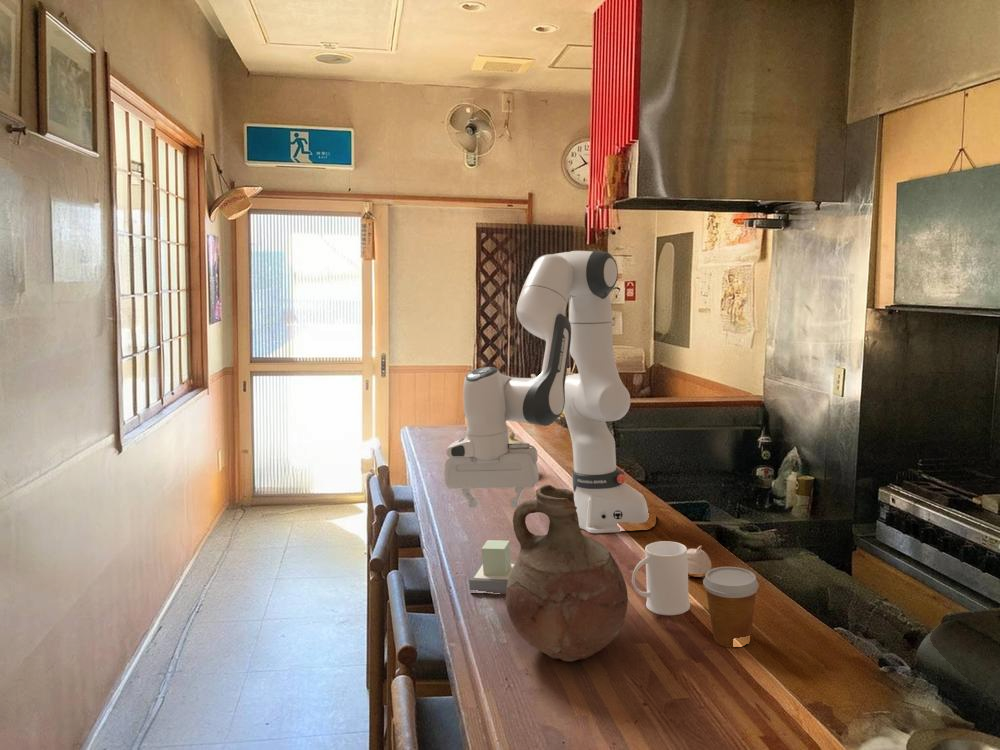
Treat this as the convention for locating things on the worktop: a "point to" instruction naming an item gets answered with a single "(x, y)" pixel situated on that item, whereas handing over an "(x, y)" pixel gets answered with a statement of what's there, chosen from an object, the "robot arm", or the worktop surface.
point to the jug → (563, 582)
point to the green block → (496, 557)
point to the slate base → (489, 581)
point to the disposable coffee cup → (730, 602)
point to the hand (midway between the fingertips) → (494, 506)
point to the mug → (665, 578)
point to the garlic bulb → (698, 561)
